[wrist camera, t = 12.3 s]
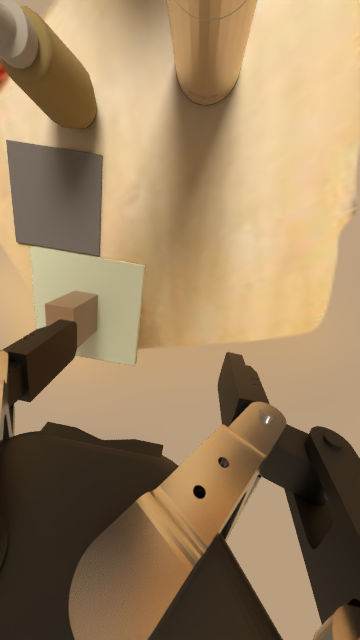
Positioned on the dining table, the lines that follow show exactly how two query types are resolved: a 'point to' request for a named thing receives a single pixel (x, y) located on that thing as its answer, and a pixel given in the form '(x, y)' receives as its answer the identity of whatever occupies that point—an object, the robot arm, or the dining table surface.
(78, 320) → the cover
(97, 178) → the mat
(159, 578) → the robot arm
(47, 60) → the squeeze bottle
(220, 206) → the dining table surface
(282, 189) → the dining table surface
